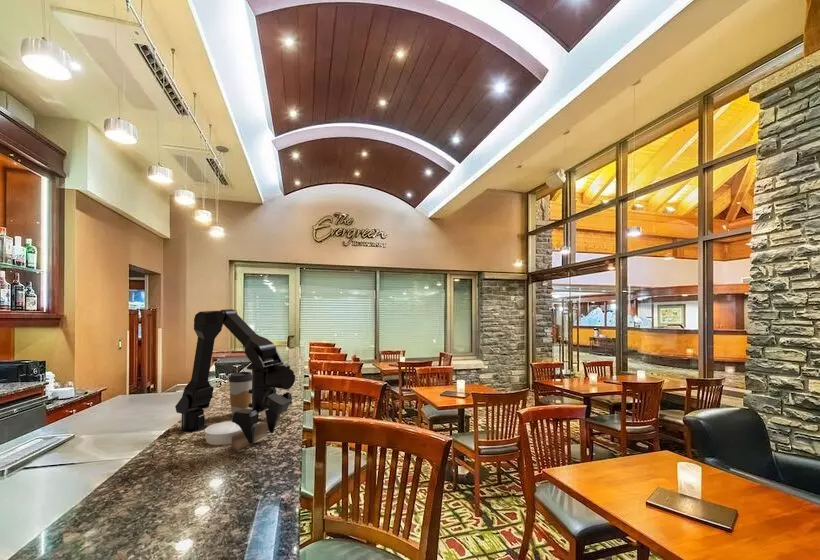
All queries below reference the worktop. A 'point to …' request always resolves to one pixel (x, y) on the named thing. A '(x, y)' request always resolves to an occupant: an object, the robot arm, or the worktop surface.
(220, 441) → the ramekin
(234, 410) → the coffee cup
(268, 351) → the robot arm
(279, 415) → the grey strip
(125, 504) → the worktop surface
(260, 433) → the wooden handled dough scraper
